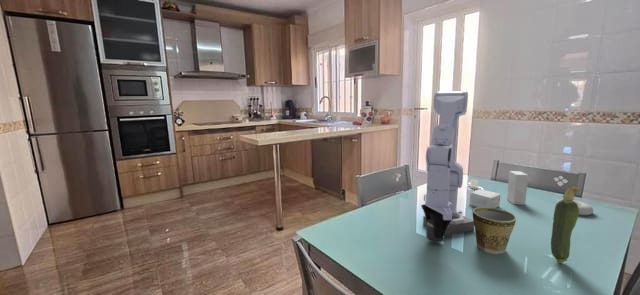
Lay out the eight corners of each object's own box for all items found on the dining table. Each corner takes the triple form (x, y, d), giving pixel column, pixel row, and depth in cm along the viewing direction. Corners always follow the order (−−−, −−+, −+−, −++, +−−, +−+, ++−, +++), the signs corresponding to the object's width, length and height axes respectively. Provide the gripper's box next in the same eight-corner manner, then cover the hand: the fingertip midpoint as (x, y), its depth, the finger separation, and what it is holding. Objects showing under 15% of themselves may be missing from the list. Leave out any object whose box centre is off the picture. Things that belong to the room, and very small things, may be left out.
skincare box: (525, 205, 106) (529, 175, 104) (513, 204, 106) (516, 174, 105) (517, 199, 112) (520, 171, 110) (506, 199, 112) (509, 170, 110)
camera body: (423, 224, 90) (423, 212, 90) (451, 218, 94) (451, 207, 94) (444, 236, 82) (444, 223, 81) (473, 229, 86) (474, 217, 85)
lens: (423, 236, 80) (424, 219, 79) (435, 233, 81) (436, 217, 81) (434, 243, 76) (435, 226, 75) (446, 240, 77) (447, 223, 77)
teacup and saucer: (467, 184, 133) (468, 176, 133) (486, 188, 128) (486, 180, 127) (461, 189, 127) (461, 180, 127) (480, 192, 122) (481, 184, 121)
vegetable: (543, 256, 71) (553, 182, 68) (559, 255, 71) (569, 181, 68) (559, 266, 66) (570, 187, 63) (576, 265, 67) (588, 187, 63)
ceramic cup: (513, 262, 69) (517, 224, 67) (468, 251, 74) (471, 216, 72) (510, 240, 79) (514, 207, 78) (471, 232, 85) (474, 201, 83)
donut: (564, 205, 106) (549, 208, 102) (566, 196, 105) (550, 200, 102) (598, 214, 97) (583, 219, 93) (600, 205, 96) (584, 209, 93)
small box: (489, 211, 101) (491, 197, 100) (468, 204, 107) (469, 192, 106) (499, 206, 105) (501, 193, 104) (478, 200, 111) (479, 188, 111)
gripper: (465, 196, 69) (461, 246, 71) (441, 180, 83) (438, 222, 85) (437, 196, 69) (434, 246, 71) (417, 180, 83) (415, 222, 86)
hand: (435, 233), depth 78 cm, fingers closed on lens, 4 cm apart
